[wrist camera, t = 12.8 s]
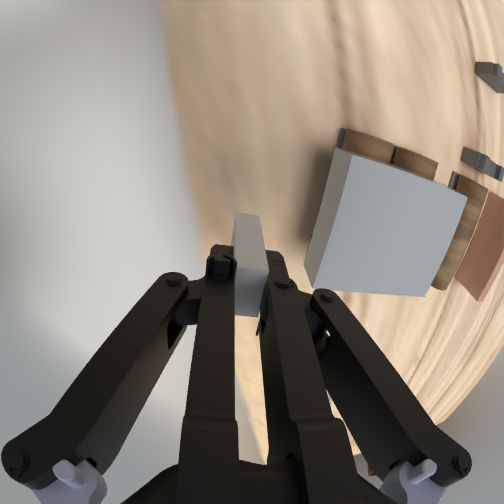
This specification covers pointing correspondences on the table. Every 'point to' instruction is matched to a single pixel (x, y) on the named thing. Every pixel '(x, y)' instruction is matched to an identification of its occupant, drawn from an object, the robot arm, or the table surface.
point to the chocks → (340, 145)
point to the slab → (380, 228)
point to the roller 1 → (368, 145)
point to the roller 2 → (415, 162)
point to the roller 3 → (461, 230)
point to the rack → (473, 158)
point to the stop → (484, 250)
